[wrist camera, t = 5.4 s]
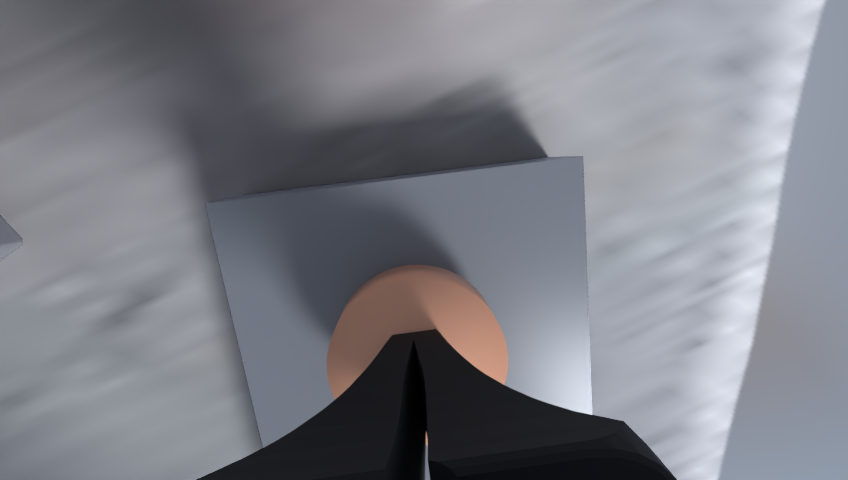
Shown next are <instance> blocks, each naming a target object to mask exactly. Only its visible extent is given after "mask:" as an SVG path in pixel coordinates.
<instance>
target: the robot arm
mask: <svg viewBox="0 0 848 480" xmlns="http://www.w3.org/2000/svg"><path fill="white" fill-rule="evenodd" d="M426 433H427V438H428V466H429V473H430V480H677V479H676V478H675V477H674V476H673V475H672V473H671V472H670V471H669V470H668V469H667V468H666V466H665V465H664V464H663V463H662V462H661V460H660V459H659V458H658V457H657V456H656V455H655V453H654V452H653V451H652V450H651V449H650V448H649V447H648V445H647V444H646V443H645V442H644V441H643V440H642V439H641V438H640V437H639V436H638V435H637V434H636V433H635V432H634V431H633V430H632V429H631V428H630V427H629V426H628V425H627V424H626V423H625V422H624V421H619V420H614V419H610V418H605V417H600V416H595V415H590V414H585V413H580V412H576V411H572V410H569V409H565V408H562V407H559V406H555V405H552V404H549V403H546V402H543V401H540V400H537V399H535V398H532V397H530V396H527V395H525V394H523V393H520V392H518V391H516V390H513V389H511V388H509V387H507V386H505V385H503V384H502V383H500V382H498V381H496V380H495V379H493V378H491V377H489V376H488V375H486V374H485V373H483V372H482V371H480V370H479V369H477V368H476V367H475V366H473V365H472V364H471V363H470V362H468V361H467V360H466V359H465V358H464V357H463V356H462V355H461V354H459V353H458V352H457V351H456V350H455V349H454V348H453V347H452V346H451V345H450V344H449V343H448V342H447V340H446V339H445V338H444V337H443V336H442V334H441V333H440V332H439V331H438V330H436V329H432V330H425V331H418V332H410V333H403V334H395V335H392V336H391V337H390V338H389V340H388V341H387V342H386V343H385V345H384V346H383V348H382V349H381V350H380V352H379V353H378V354H377V356H376V357H375V358H374V360H373V361H372V362H371V363H370V365H369V366H368V367H367V368H366V369H365V371H364V372H363V373H362V374H361V375H360V376H359V377H358V378H357V379H356V380H355V381H354V382H353V384H352V385H351V386H350V387H349V388H347V389H346V390H345V391H344V392H343V393H342V394H341V395H340V396H339V397H338V398H336V399H335V400H334V401H333V402H332V403H330V404H329V405H328V406H327V407H326V408H324V409H323V410H322V411H320V412H319V413H317V414H316V415H315V416H313V417H312V418H310V419H309V420H307V421H306V422H305V423H303V424H302V425H300V426H299V427H297V428H296V429H295V430H293V431H291V432H290V433H288V434H287V435H285V436H283V437H281V438H280V439H278V440H276V441H275V442H273V443H271V444H269V445H268V446H266V447H264V448H262V449H260V450H258V451H257V452H255V453H253V454H251V455H249V456H247V457H245V458H243V459H241V460H239V461H236V462H234V463H232V464H230V465H228V466H226V467H223V468H221V469H219V470H217V471H215V472H212V473H210V474H208V475H206V476H204V477H201V478H199V479H197V480H425V454H426Z"/></svg>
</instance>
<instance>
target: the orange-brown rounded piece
mask: <svg viewBox="0 0 848 480" xmlns="http://www.w3.org/2000/svg"><path fill="white" fill-rule="evenodd" d="M432 329H436V330H438V331H439V332H440V333H441V334H442V336H443V337H444V338H445V339H446V340H447V342H448V343H449V344H450V345H451V346H452V347H453V348H454V349H455V350H456V351H457V352H458V353H459V354H461V355H462V356H463V357H464V358H465V359H466V360H467V361H468V362H470V363H471V364H472V365H473V366H475V367H476V368H477V369H479V370H480V371H482V372H483V373H485V374H486V375H488V376H489V377H491V378H493V379H495V380H496V381H498V382H500V383H502V384H503V385H505V381H506V377H507V371H508V350H507V344H506V341H505V337H504V334H503V332H502V330H501V327H500V325H499V323H498V321H497V320H496V318H495V316H494V315H493V313H492V311H491V309H490V308H489V306H488V304H487V302H486V301H485V299H484V298H483V296H482V295H481V294H480V293H479V291H478V290H477V289H476V288H475V287H474V286H473V285H472V284H470V283H469V282H468V281H467V280H465V279H464V278H462V277H461V276H459V275H457V274H455V273H453V272H451V271H449V270H446V269H443V268H440V267H435V266H430V265H405V266H400V267H395V268H392V269H389V270H386V271H384V272H382V273H380V274H378V275H376V276H374V277H372V278H371V279H369V280H368V281H366V282H365V283H364V284H363V285H362V286H361V287H359V288H358V289H357V290H356V292H355V293H354V294H353V295H352V296H351V298H350V299H349V301H348V302H347V303H346V305H345V307H344V309H343V311H342V313H341V316H340V318H339V320H338V323H337V325H336V328H335V330H334V333H333V335H332V338H331V341H330V344H329V348H328V354H327V376H328V382H329V385H330V389H331V392H332V394H333V396H334V399H336V398H338V397H339V396H340V395H341V394H342V393H343V392H344V391H345V390H346V389H347V388H349V387H350V386H351V385H352V384H353V382H354V381H355V380H356V379H357V378H358V377H359V376H360V375H361V374H362V373H363V372H364V371H365V369H366V368H367V367H368V366H369V365H370V363H371V362H372V361H373V360H374V358H375V357H376V356H377V354H378V353H379V352H380V350H381V349H382V348H383V346H384V345H385V343H386V342H387V341H388V340H389V338H390V337H391V336H392V335H395V334H403V333H410V332H418V331H425V330H432ZM426 445H428V438H427V433H426Z"/></svg>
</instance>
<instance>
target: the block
mask: <svg viewBox="0 0 848 480" xmlns="http://www.w3.org/2000/svg"><path fill="white" fill-rule="evenodd" d="M205 206H206V210H207V214H208V218H209V223H210V227H211V231H212V235H213V240H214V244H215V248H216V252H217V256H218V261H219V265H220V269H221V273H222V277H223V282H224V286H225V290H226V294H227V298H228V303H229V307H230V311H231V315H232V319H233V324H234V328H235V332H236V336H237V340H238V345H239V349H240V353H241V357H242V361H243V366H244V370H245V374H246V378H247V382H248V387H249V391H250V395H251V399H252V403H253V408H254V412H255V416H256V420H257V424H258V429H259V433H260V437H261V441H262V446H263V448H264V447H266V446H268V445H269V444H271V443H273V442H275V441H276V440H278V439H280V438H281V437H283V436H285V435H287V434H288V433H290V432H291V431H293V430H295V429H296V428H297V427H299V426H300V425H302V424H303V423H305V422H306V421H307V420H309V419H310V418H312V417H313V416H315V415H316V414H317V413H319V412H320V411H322V410H323V409H324V408H326V407H327V406H328V405H329V404H330V403H332V402H333V401H334V400H335V399H334V396H333V394H332V392H331V389H330V385H329V382H328V376H327V354H328V348H329V344H330V341H331V338H332V335H333V333H334V330H335V328H336V325H337V323H338V320H339V318H340V316H341V313H342V311H343V309H344V307H345V305H346V303H347V302H348V301H349V299H350V298H351V296H352V295H353V294H354V293H355V292H356V290H357V289H358V288H359V287H361V286H362V285H363V284H364V283H365V282H366V281H368V280H369V279H371V278H372V277H374V276H376V275H378V274H380V273H382V272H384V271H386V270H389V269H392V268H395V267H400V266H405V265H430V266H435V267H440V268H443V269H446V270H449V271H451V272H453V273H455V274H457V275H459V276H461V277H462V278H464V279H465V280H467V281H468V282H469V283H470V284H472V285H473V286H474V287H475V288H476V289H477V290H478V291H479V293H480V294H481V295H482V296H483V298H484V299H485V301H486V302H487V304H488V306H489V308H490V309H491V311H492V313H493V315H494V316H495V318H496V320H497V321H498V323H499V325H500V327H501V330H502V332H503V334H504V337H505V341H506V344H507V350H508V371H507V377H506V381H505V386H507V387H509V388H511V389H513V390H516V391H518V392H520V393H523V394H525V395H527V396H530V397H532V398H535V399H537V400H540V401H543V402H546V403H549V404H552V405H555V406H559V407H562V408H565V409H569V410H572V411H576V412H580V413H585V414H590V415H592V393H591V365H590V337H589V308H588V280H587V252H586V224H585V195H584V167H583V156H575V157H545V158H537V159H529V160H521V161H513V162H505V163H497V164H489V165H481V166H473V167H465V168H457V169H449V170H441V171H433V172H425V173H417V174H409V175H401V176H393V177H385V178H377V179H369V180H361V181H353V182H344V183H336V184H328V185H320V186H312V187H304V188H296V189H288V190H280V191H272V192H264V193H256V194H248V195H242V196H237V197H232V198H228V199H223V200H219V201H214V202H209V203H205ZM425 480H430V473H429V466H428V445H426V454H425Z"/></svg>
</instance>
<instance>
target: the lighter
mask: <svg viewBox="0 0 848 480" xmlns="http://www.w3.org/2000/svg"><path fill="white" fill-rule="evenodd" d="M21 245H22V238H21V237H20V236H19V235H18V234H17V233H16V232H15V231H14V230H13V229H12V227H11V226H10V225H9V224H8V223H7V222H6V221H5V220H4V219H3V218H2V217H1V216H0V261H1V260H2V259H4V258H5V257H6V256H8V255H9V254H11V253H12V252H13V251H15V250H16V249H17V248H19V247H20V246H21Z"/></svg>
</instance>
